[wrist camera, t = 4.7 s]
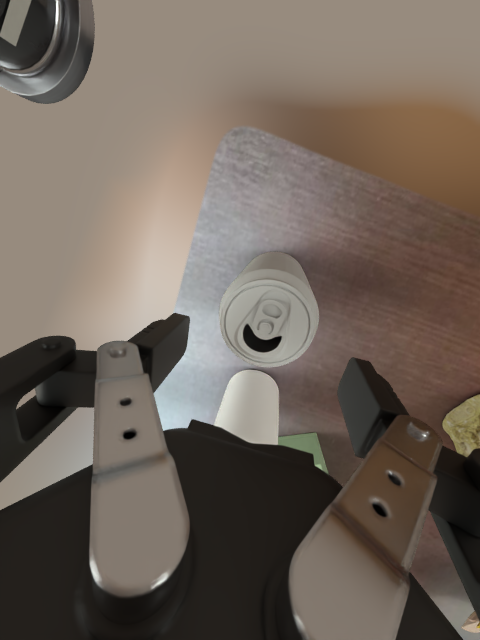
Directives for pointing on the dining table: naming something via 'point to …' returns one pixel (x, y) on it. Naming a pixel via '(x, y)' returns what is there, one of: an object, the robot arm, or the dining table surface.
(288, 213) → the dining table surface
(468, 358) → the dining table surface
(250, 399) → the can
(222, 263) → the dining table surface
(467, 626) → the decorative flower
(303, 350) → the beverage can
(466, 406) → the ceramic model
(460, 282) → the dining table surface
